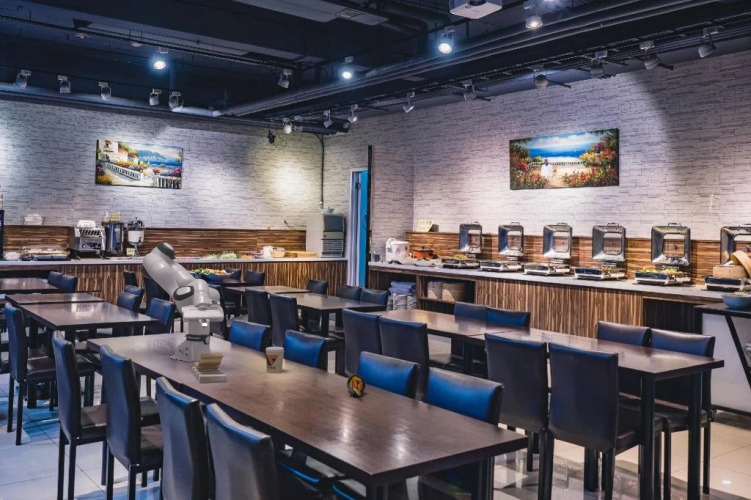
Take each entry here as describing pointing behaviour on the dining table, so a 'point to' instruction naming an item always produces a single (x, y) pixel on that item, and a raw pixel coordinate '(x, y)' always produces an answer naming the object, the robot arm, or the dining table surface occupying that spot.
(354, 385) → the fried shrimp in bowl
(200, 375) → the floor base
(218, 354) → the plank
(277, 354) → the coffee cup
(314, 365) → the dining table surface
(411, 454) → the dining table surface
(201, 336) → the robot arm
